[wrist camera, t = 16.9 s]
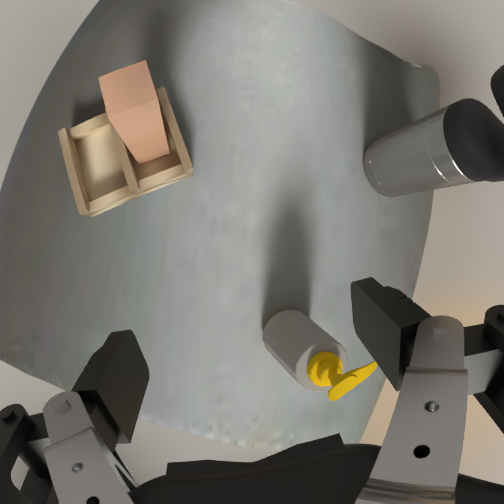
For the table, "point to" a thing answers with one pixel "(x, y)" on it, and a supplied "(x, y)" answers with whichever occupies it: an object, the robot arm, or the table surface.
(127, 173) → the rack
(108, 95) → the clay bar
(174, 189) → the table surface
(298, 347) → the soap bottle
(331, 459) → the robot arm
